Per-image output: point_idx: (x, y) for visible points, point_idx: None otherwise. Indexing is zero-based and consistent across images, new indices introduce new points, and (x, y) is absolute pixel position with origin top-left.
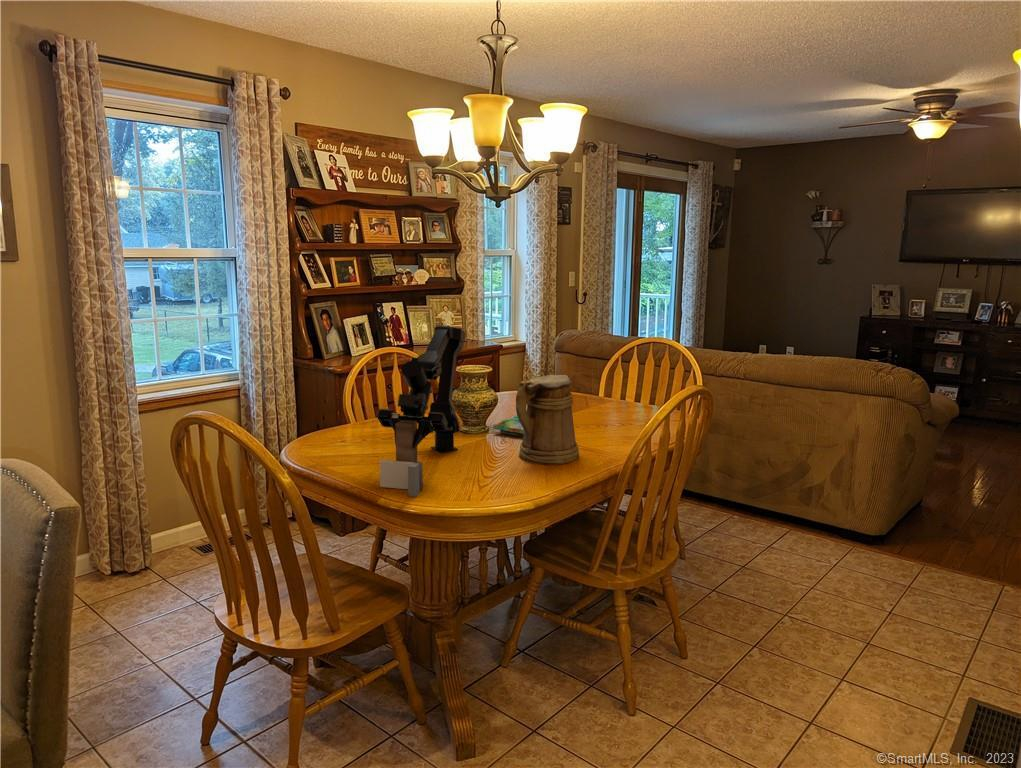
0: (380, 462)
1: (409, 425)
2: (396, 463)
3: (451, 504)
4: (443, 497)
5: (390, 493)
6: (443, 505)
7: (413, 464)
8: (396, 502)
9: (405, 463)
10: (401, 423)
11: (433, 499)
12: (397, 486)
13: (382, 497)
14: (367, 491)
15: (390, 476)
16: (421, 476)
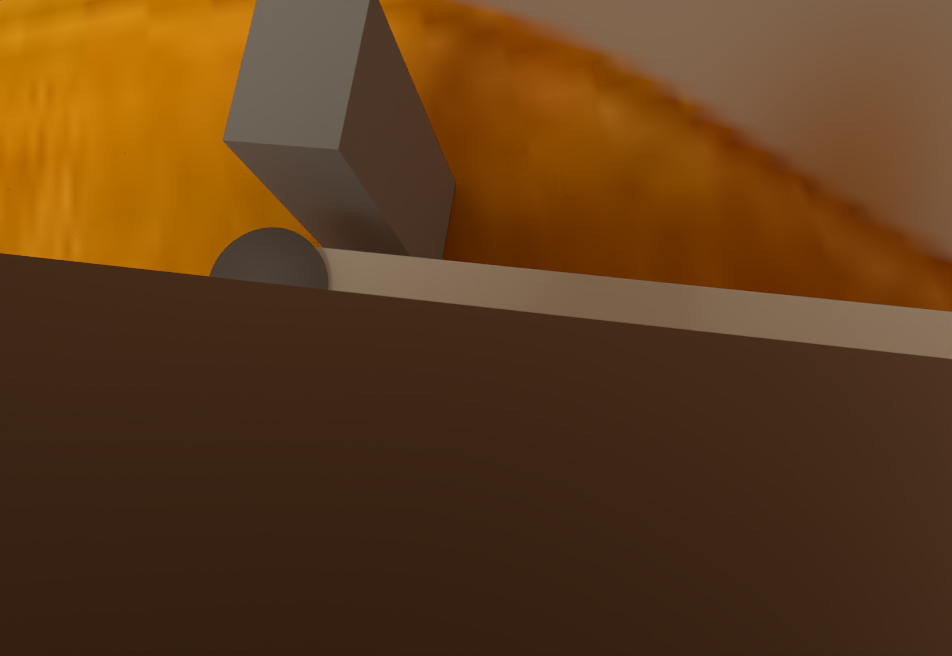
0: (935, 313)
1: (37, 273)
2: (631, 283)
3: (57, 66)
4: (128, 212)
5: (656, 236)
6: (120, 33)
7: (303, 82)
8: (531, 22)
9: (475, 272)
10: (583, 558)
11: (212, 149)
12: None
13: (704, 116)
14: (935, 257)
15: None
16: None
